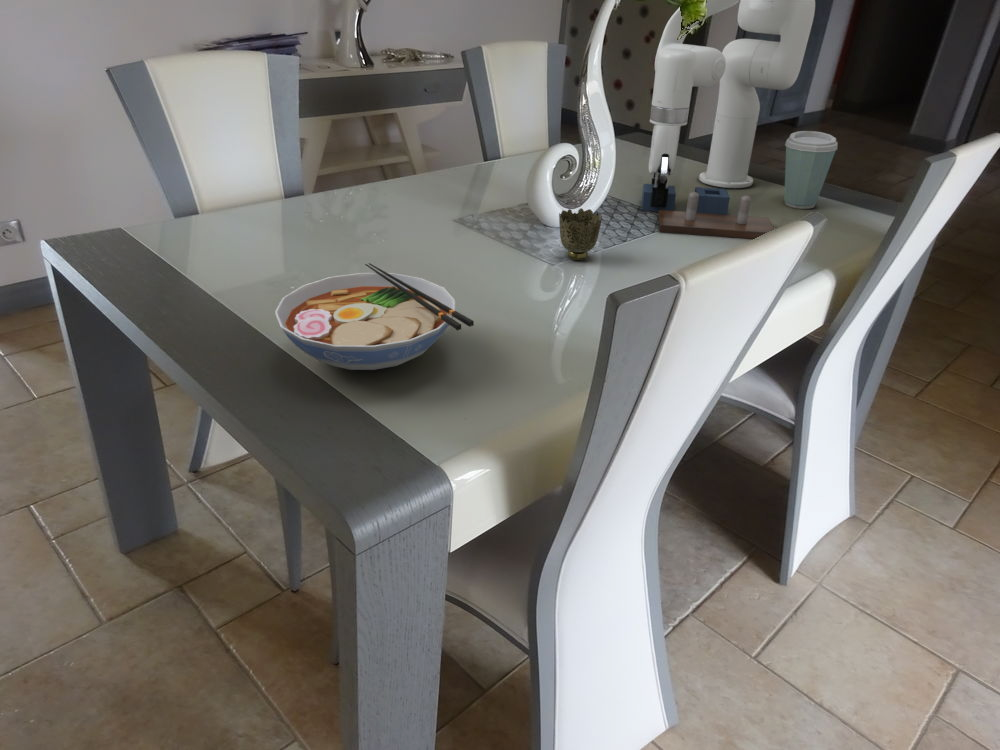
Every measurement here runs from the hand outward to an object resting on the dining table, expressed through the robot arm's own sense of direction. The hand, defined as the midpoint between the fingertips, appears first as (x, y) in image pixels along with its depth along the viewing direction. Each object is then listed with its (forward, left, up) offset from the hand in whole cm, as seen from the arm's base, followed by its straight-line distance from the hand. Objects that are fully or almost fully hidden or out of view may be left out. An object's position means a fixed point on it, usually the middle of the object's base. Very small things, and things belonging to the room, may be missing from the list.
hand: (657, 201), depth 160 cm
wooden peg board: (+12, +11, -1) cm, 16 cm away
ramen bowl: (+78, -40, -1) cm, 87 cm away
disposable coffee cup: (-9, +31, -1) cm, 32 cm away
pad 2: (0, +11, -1) cm, 11 cm away
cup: (+35, -15, -1) cm, 38 cm away
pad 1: (0, 0, -1) cm, 1 cm away
